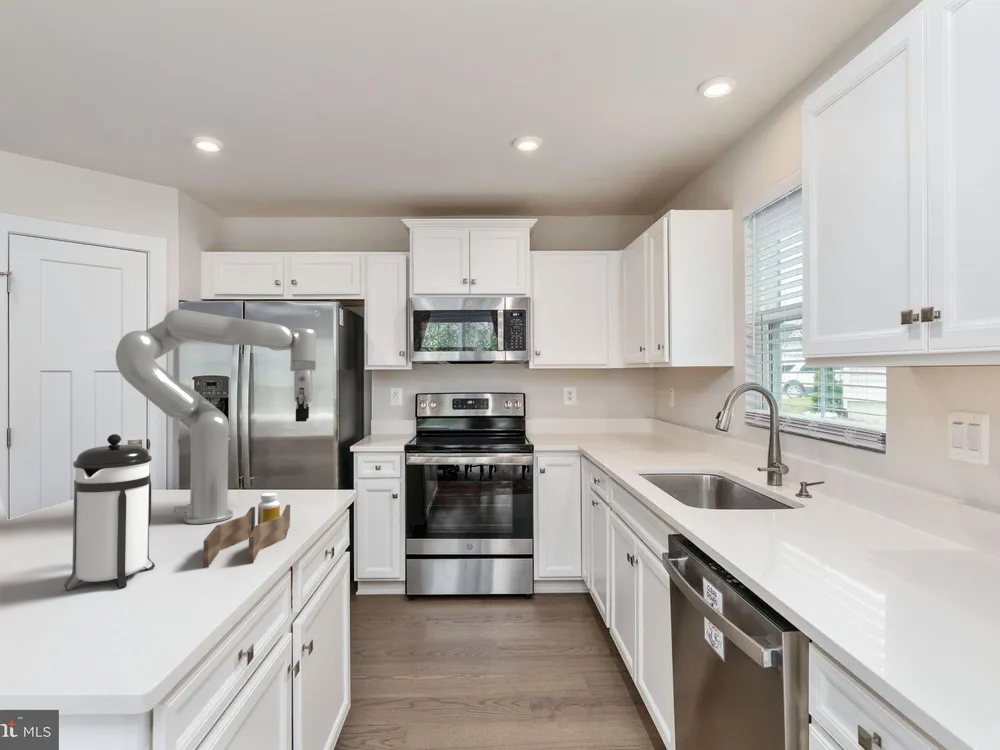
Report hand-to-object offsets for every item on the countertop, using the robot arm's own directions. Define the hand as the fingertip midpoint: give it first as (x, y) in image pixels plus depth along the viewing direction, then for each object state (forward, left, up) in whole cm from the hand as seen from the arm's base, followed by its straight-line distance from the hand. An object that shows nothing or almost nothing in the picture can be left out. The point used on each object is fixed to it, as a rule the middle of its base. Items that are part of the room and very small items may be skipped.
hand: (302, 420), depth 158 cm
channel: (-9, -33, -28) cm, 44 cm away
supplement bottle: (-7, -22, -28) cm, 36 cm away
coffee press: (-33, -47, -28) cm, 64 cm away
